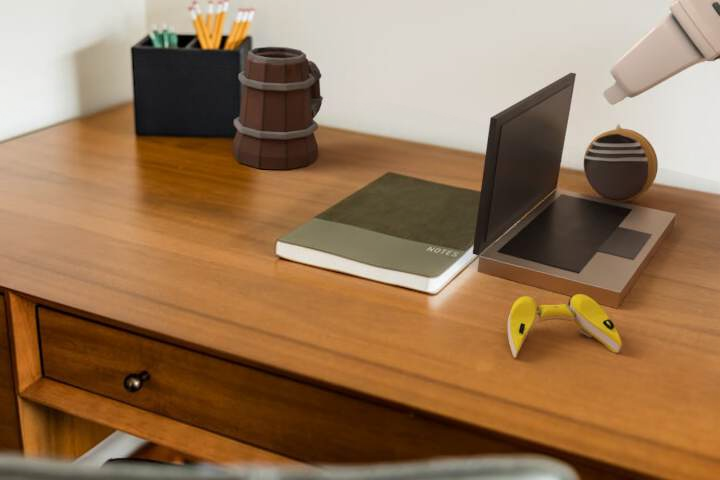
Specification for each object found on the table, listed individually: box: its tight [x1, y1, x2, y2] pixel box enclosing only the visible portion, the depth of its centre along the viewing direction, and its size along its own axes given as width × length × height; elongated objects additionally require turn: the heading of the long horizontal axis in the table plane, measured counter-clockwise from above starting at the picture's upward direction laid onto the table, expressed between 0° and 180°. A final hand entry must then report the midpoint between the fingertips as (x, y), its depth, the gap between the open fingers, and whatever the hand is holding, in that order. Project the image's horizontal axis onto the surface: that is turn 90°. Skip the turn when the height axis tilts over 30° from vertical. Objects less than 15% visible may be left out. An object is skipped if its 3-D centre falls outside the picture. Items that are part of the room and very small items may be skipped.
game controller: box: [506, 294, 623, 359], centre depth 82 cm, size 10×6×4 cm, turn 100°
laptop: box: [477, 188, 677, 309], centre depth 103 cm, size 15×26×2 cm, turn 150°
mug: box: [232, 46, 324, 171], centre depth 127 cm, size 16×12×15 cm
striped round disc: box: [583, 123, 659, 203], centre depth 117 cm, size 9×4×10 cm, turn 51°
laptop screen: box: [472, 72, 577, 256], centre depth 103 cm, size 15×26×1 cm
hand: (610, 97), depth 96 cm, fingers closed
